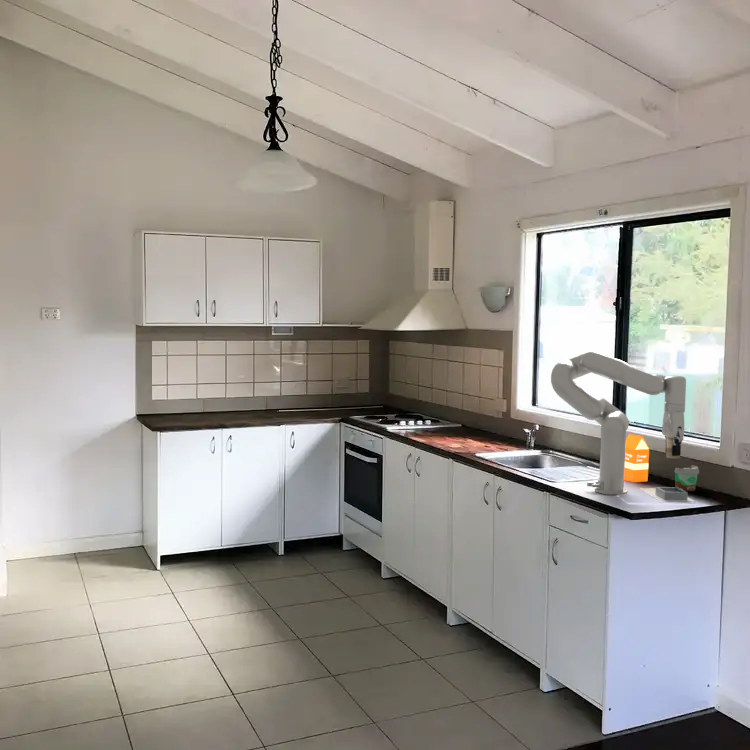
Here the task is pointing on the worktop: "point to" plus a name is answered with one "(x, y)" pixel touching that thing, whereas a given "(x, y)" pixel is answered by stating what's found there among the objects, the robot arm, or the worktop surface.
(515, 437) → the worktop surface
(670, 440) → the plug
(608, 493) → the robot arm
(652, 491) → the board
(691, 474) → the food container
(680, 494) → the grey square tray
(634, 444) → the orange juice
